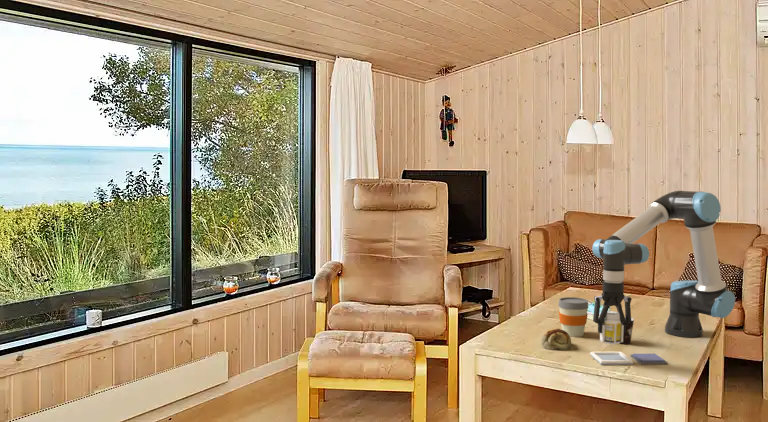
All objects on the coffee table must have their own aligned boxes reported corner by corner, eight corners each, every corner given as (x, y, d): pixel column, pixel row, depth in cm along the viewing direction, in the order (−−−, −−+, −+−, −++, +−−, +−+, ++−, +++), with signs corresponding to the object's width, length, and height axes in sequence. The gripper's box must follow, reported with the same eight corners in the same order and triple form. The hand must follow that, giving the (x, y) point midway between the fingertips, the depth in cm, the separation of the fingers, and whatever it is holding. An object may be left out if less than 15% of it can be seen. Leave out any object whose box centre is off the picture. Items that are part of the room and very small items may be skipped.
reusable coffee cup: (584, 330, 295) (585, 297, 294) (590, 338, 283) (591, 303, 281) (555, 330, 296) (556, 296, 295) (560, 337, 284) (561, 303, 283)
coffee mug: (619, 345, 271) (620, 321, 271) (606, 340, 280) (607, 316, 279) (643, 343, 274) (644, 319, 274) (630, 338, 283) (631, 315, 282)
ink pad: (655, 356, 257) (655, 352, 257) (667, 364, 247) (667, 360, 247) (630, 356, 257) (630, 353, 257) (641, 364, 247) (641, 361, 247)
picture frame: (620, 355, 259) (620, 351, 259) (633, 364, 247) (633, 360, 247) (590, 355, 258) (590, 351, 258) (601, 365, 247) (601, 361, 246)
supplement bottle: (616, 340, 255) (617, 311, 254) (623, 344, 249) (624, 314, 248) (600, 340, 255) (600, 311, 254) (606, 344, 249) (606, 315, 248)
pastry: (550, 352, 263) (551, 332, 262) (534, 344, 275) (534, 325, 274) (581, 349, 268) (581, 329, 267) (563, 341, 279) (563, 322, 279)
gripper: (634, 279, 254) (632, 338, 256) (584, 279, 254) (582, 338, 256) (642, 282, 247) (640, 343, 249) (591, 283, 246) (589, 344, 248)
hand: (611, 341), depth 252 cm, fingers closed on supplement bottle, 6 cm apart
